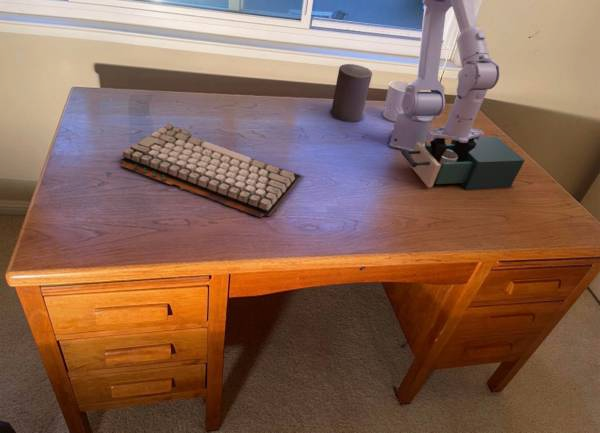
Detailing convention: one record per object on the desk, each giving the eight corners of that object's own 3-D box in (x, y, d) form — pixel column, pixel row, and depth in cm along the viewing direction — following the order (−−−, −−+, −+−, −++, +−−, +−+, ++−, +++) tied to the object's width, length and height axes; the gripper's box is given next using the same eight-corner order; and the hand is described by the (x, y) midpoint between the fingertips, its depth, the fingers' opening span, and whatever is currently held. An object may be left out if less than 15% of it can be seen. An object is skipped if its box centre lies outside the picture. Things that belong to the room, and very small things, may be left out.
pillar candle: (324, 111, 131) (332, 62, 122) (344, 104, 137) (354, 57, 128) (348, 124, 126) (359, 74, 117) (368, 116, 132) (380, 68, 123)
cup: (431, 172, 107) (437, 156, 104) (431, 161, 111) (437, 146, 108) (451, 177, 106) (458, 161, 104) (451, 166, 110) (457, 151, 108)
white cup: (407, 115, 137) (417, 85, 131) (404, 125, 131) (413, 94, 125) (383, 108, 138) (391, 78, 132) (378, 118, 132) (387, 87, 126)
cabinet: (465, 189, 107) (478, 162, 102) (442, 164, 116) (452, 137, 111) (510, 187, 111) (525, 160, 106) (484, 162, 120) (497, 136, 114)
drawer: (409, 188, 103) (417, 166, 99) (391, 164, 110) (398, 142, 106) (471, 185, 108) (481, 163, 104) (450, 162, 115) (458, 141, 111)
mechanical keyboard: (301, 176, 102) (303, 164, 100) (266, 222, 88) (268, 209, 86) (164, 131, 110) (163, 119, 108) (113, 166, 96) (110, 153, 94)
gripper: (444, 123, 94) (425, 174, 103) (499, 122, 98) (476, 172, 107) (429, 108, 99) (411, 158, 108) (482, 108, 104) (461, 157, 112)
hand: (443, 164), depth 108 cm, fingers closed on cup, 5 cm apart
